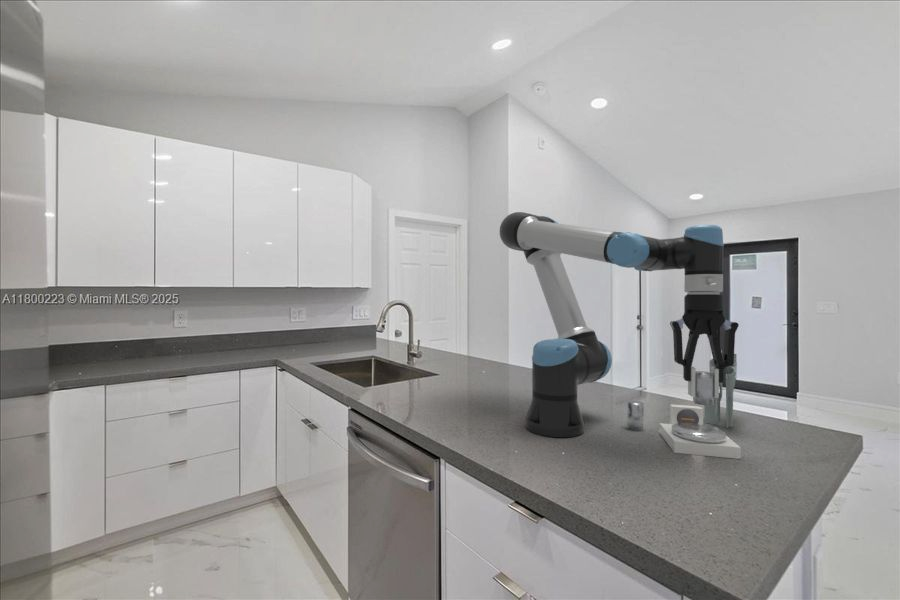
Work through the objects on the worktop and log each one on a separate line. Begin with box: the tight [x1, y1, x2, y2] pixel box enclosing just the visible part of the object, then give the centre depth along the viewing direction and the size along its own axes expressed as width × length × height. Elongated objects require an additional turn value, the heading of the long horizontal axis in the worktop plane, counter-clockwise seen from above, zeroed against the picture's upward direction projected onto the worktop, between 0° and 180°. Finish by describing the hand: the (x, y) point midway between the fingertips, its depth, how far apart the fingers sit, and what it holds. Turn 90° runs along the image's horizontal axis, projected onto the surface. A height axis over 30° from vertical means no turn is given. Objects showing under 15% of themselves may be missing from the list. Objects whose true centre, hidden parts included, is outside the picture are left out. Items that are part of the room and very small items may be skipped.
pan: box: [672, 423, 727, 443], centre depth 96 cm, size 11×11×1 cm
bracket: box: [703, 348, 738, 429], centre depth 114 cm, size 28×7×20 cm, turn 143°
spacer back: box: [626, 400, 645, 432], centre depth 108 cm, size 4×4×7 cm
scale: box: [659, 403, 742, 460], centre depth 98 cm, size 13×16×7 cm
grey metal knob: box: [692, 370, 714, 406], centre depth 92 cm, size 4×4×7 cm
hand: (703, 395), depth 93 cm, fingers closed on grey metal knob, 4 cm apart
